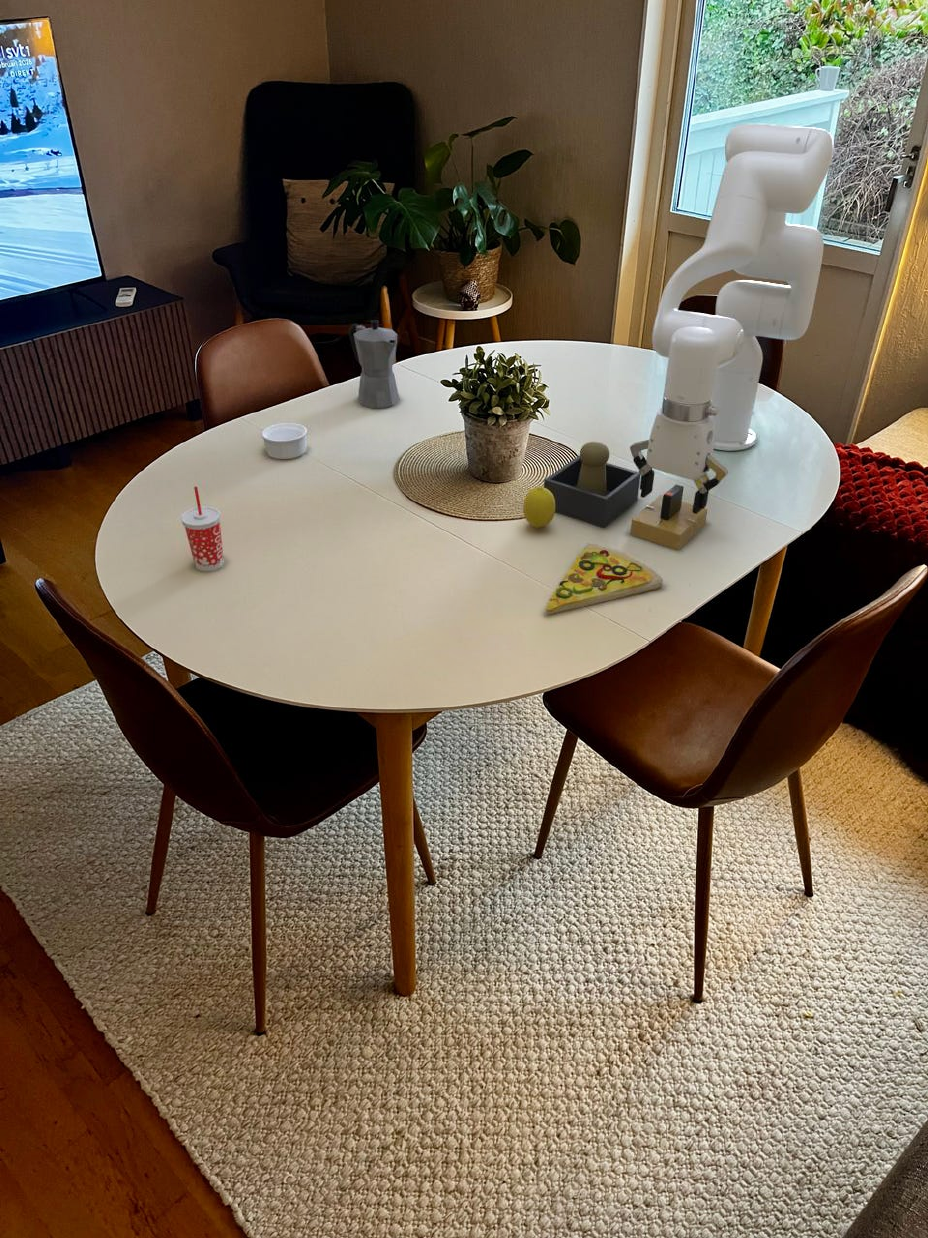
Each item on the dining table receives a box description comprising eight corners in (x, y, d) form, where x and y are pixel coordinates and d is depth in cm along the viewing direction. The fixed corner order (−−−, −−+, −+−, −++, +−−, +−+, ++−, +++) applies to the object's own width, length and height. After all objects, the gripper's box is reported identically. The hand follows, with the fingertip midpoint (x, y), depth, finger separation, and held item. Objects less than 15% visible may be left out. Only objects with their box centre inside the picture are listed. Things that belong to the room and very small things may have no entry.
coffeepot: (414, 403, 211) (412, 322, 200) (381, 415, 205) (377, 332, 195) (369, 384, 220) (365, 306, 209) (337, 395, 214) (331, 315, 204)
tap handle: (672, 506, 166) (676, 482, 163) (680, 509, 165) (684, 484, 163) (659, 518, 163) (663, 493, 160) (667, 520, 162) (671, 496, 159)
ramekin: (255, 456, 189) (252, 436, 186) (278, 439, 195) (276, 419, 193) (294, 464, 186) (292, 443, 183) (317, 446, 193) (315, 426, 190)
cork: (605, 510, 170) (611, 453, 164) (572, 507, 171) (576, 450, 165) (608, 494, 175) (614, 439, 168) (575, 491, 176) (580, 436, 169)
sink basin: (578, 481, 180) (580, 454, 177) (637, 500, 174) (641, 472, 171) (542, 507, 172) (544, 479, 169) (603, 528, 166) (606, 499, 163)
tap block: (658, 509, 172) (660, 493, 170) (705, 524, 167) (708, 508, 165) (629, 534, 164) (631, 518, 162) (678, 550, 160) (680, 534, 158)
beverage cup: (209, 577, 152) (195, 500, 144) (182, 566, 155) (166, 490, 147) (236, 560, 157) (224, 484, 149) (209, 550, 159) (195, 474, 151)
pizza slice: (668, 584, 151) (671, 568, 150) (584, 637, 140) (586, 620, 138) (593, 547, 160) (594, 532, 159) (508, 594, 149) (508, 578, 147)
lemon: (557, 523, 167) (560, 482, 163) (549, 538, 163) (552, 496, 158) (527, 517, 169) (529, 477, 164) (518, 532, 165) (520, 491, 160)
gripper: (746, 412, 151) (728, 508, 161) (647, 388, 159) (636, 480, 169) (727, 427, 146) (709, 525, 156) (626, 401, 154) (616, 496, 164)
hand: (671, 502), depth 162 cm, fingers open, 9 cm apart
